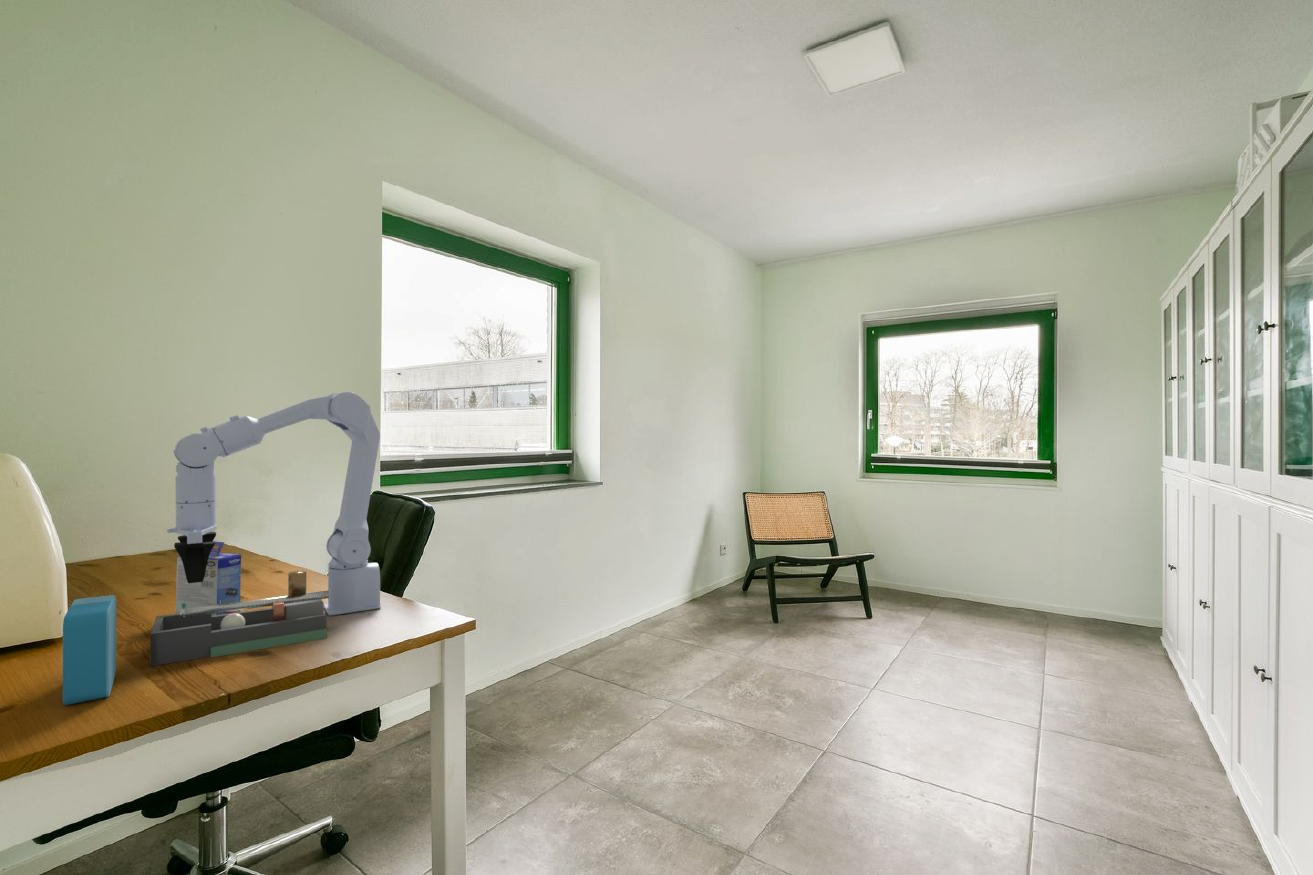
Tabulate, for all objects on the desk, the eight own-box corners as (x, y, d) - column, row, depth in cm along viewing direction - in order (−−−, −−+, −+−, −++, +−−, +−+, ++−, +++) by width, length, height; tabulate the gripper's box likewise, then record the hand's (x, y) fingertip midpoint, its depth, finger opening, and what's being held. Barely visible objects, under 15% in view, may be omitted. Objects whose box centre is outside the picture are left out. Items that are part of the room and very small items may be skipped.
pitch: (317, 619, 117) (318, 593, 117) (327, 637, 107) (327, 609, 107) (156, 644, 103) (156, 614, 103) (150, 667, 93) (150, 634, 93)
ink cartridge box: (243, 615, 119) (243, 541, 119) (217, 624, 114) (217, 547, 113) (201, 611, 121) (201, 539, 121) (174, 620, 116) (174, 544, 115)
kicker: (326, 613, 114) (326, 566, 114) (330, 620, 110) (330, 571, 110) (180, 635, 102) (180, 582, 102) (178, 644, 98) (178, 588, 97)
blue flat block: (75, 678, 89) (75, 597, 88) (116, 671, 91) (116, 592, 91) (62, 709, 79) (62, 617, 79) (108, 700, 82) (109, 611, 82)
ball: (244, 629, 106) (245, 609, 106) (245, 635, 103) (245, 614, 103) (220, 633, 104) (220, 612, 104) (220, 638, 101) (220, 618, 101)
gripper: (170, 498, 111) (170, 572, 112) (163, 507, 100) (164, 590, 100) (217, 496, 116) (217, 567, 116) (216, 504, 104) (217, 583, 104)
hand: (196, 577), depth 108 cm, fingers open, 7 cm apart
